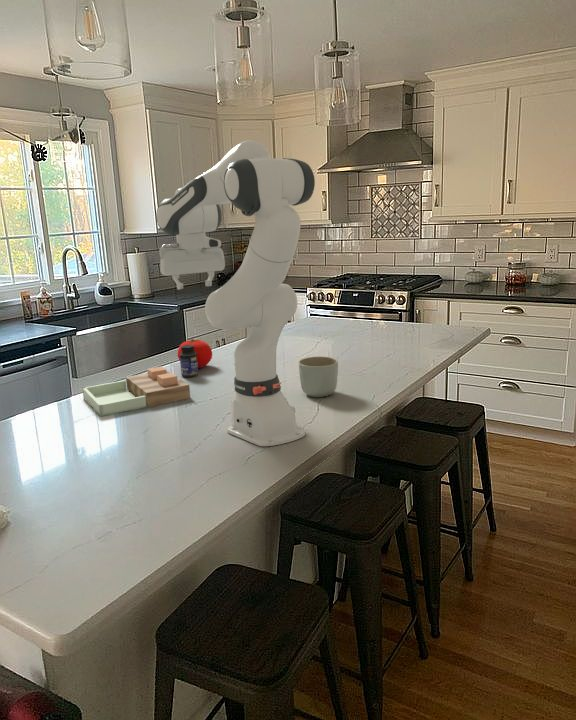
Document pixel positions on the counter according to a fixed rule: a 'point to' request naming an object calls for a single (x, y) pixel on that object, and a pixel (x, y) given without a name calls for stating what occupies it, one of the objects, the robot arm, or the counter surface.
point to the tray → (112, 398)
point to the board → (157, 390)
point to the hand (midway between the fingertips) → (194, 287)
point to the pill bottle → (188, 361)
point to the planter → (318, 375)
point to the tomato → (199, 351)
